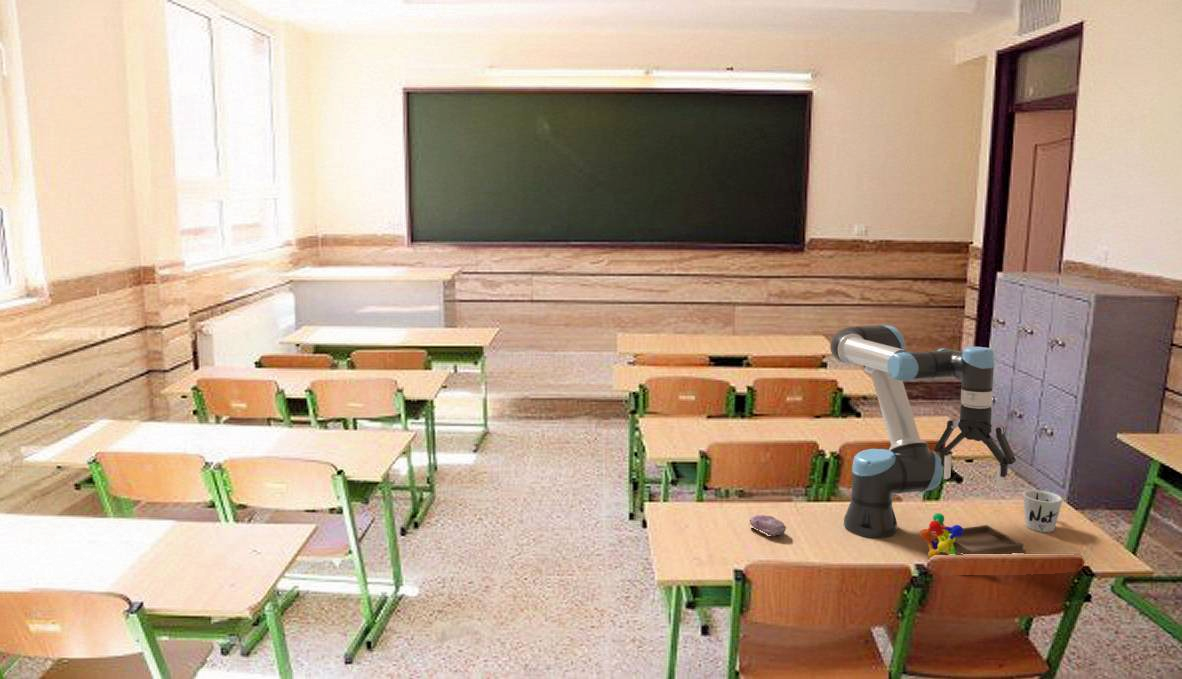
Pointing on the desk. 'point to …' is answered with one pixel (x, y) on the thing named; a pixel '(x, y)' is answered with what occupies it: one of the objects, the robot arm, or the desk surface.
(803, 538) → the desk surface
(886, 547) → the desk surface
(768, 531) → the fossil
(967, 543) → the base
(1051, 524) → the mug
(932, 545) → the molecular model
